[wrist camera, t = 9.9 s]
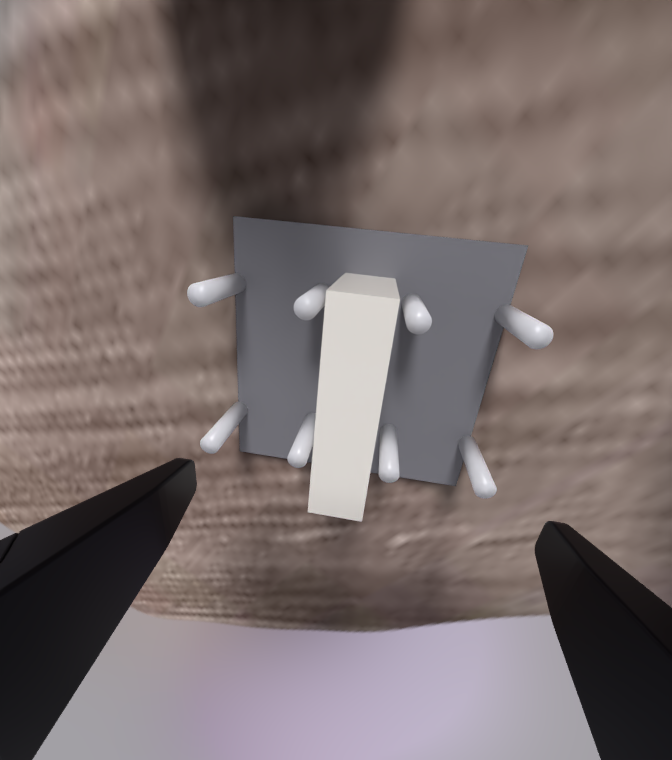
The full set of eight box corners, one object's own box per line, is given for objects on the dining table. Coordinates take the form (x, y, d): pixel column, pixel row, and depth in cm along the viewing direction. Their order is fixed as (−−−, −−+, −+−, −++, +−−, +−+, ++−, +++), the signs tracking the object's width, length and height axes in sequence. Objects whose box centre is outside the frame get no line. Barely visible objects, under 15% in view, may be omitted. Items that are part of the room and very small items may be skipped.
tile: (395, 278, 17) (400, 299, 11) (368, 446, 21) (361, 521, 15) (345, 272, 17) (326, 290, 11) (328, 439, 21) (307, 512, 15)
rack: (528, 245, 16) (585, 249, 12) (459, 476, 22) (478, 540, 17) (233, 216, 17) (180, 209, 13) (239, 441, 23) (204, 492, 19)
